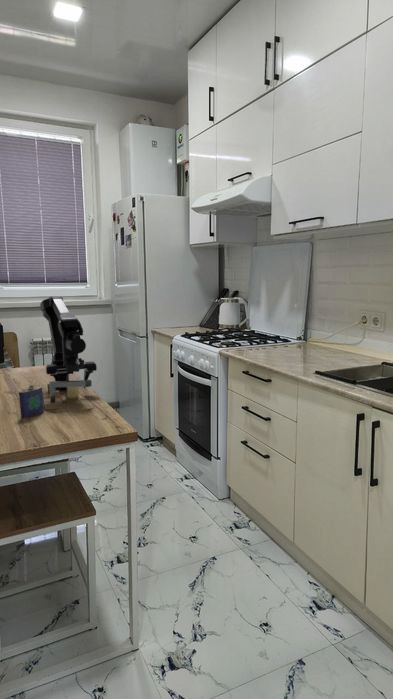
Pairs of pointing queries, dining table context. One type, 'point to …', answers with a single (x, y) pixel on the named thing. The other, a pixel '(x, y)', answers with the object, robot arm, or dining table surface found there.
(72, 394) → the light wooden cube
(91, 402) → the dining table surface
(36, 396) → the flask
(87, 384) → the lever
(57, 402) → the plane body
